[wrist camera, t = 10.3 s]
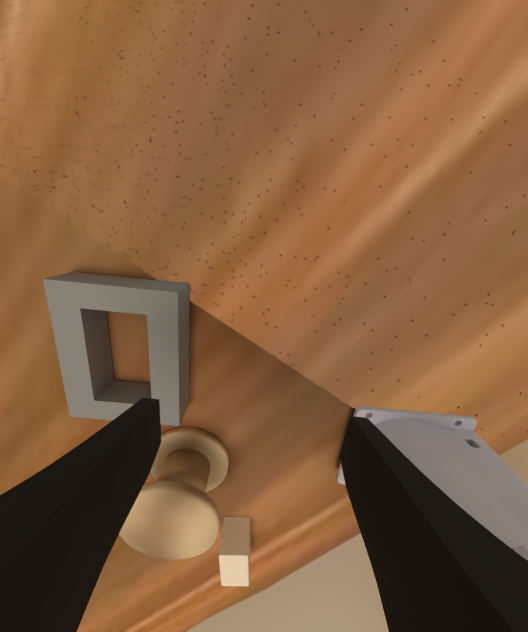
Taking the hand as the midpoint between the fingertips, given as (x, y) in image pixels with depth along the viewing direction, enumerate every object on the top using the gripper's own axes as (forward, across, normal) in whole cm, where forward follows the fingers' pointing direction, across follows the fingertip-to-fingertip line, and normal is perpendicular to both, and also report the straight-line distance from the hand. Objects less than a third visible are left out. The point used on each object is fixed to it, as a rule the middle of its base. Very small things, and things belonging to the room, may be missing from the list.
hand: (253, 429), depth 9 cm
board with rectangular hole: (+9, +9, +2) cm, 13 cm away
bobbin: (+9, +5, +13) cm, 17 cm away
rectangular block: (+10, 0, +23) cm, 25 cm away
